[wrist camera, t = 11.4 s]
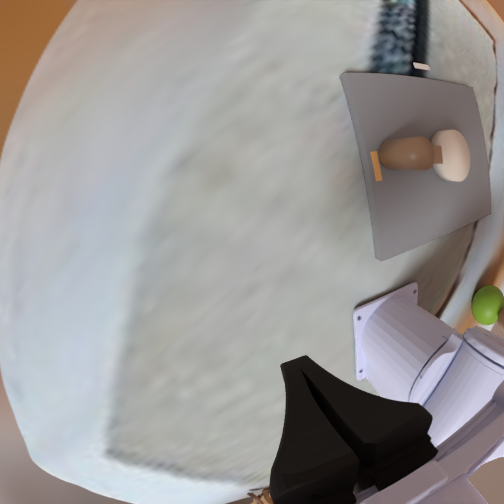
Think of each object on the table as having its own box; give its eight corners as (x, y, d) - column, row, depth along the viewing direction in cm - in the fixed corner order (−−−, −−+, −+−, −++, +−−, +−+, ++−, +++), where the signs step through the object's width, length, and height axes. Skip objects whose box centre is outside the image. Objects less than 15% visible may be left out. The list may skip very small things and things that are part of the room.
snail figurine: (464, 289, 27) (531, 325, 16) (486, 275, 28) (547, 304, 16) (458, 324, 29) (517, 363, 17) (481, 307, 29) (536, 340, 18)
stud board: (485, 212, 25) (491, 213, 24) (375, 258, 23) (382, 261, 22) (463, 76, 20) (469, 75, 19) (333, 59, 18) (340, 55, 17)
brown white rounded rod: (455, 132, 20) (486, 131, 16) (460, 179, 21) (491, 183, 17) (372, 124, 18) (407, 116, 14) (380, 186, 20) (416, 189, 16)
